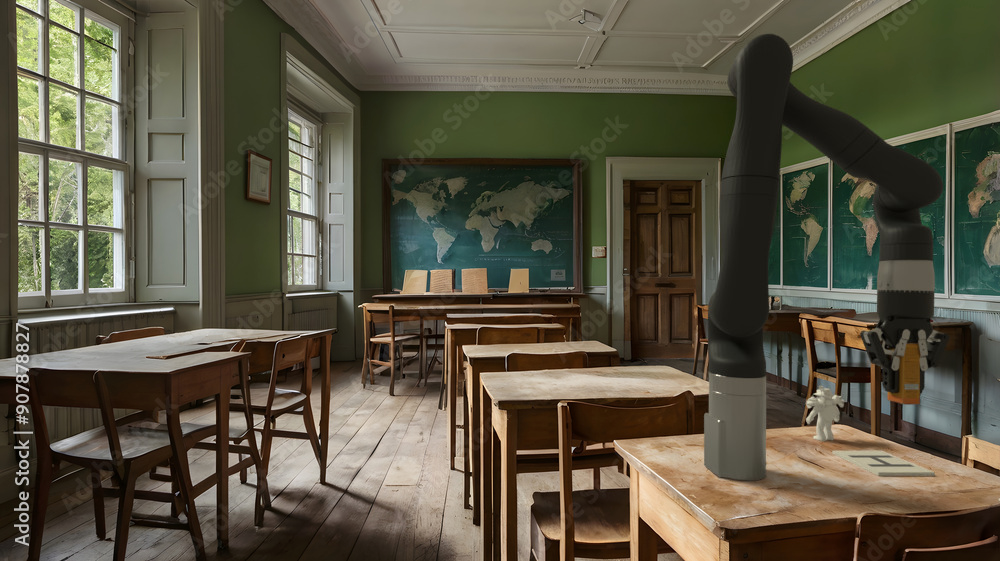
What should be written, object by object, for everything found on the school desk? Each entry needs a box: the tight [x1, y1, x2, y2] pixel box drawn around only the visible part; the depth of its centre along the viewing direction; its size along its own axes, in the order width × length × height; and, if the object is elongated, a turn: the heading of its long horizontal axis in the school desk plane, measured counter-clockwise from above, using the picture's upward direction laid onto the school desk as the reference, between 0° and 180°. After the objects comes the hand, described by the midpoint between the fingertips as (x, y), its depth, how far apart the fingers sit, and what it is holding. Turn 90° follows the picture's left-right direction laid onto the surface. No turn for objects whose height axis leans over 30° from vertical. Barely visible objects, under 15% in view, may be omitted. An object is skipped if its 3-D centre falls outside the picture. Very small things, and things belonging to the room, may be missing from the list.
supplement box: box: [887, 343, 921, 406], centre depth 86 cm, size 3×3×10 cm
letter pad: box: [832, 450, 936, 477], centre depth 96 cm, size 10×12×1 cm
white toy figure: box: [805, 385, 845, 442], centre depth 112 cm, size 9×4×12 cm, turn 106°
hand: (903, 391), depth 86 cm, fingers closed on supplement box, 3 cm apart
